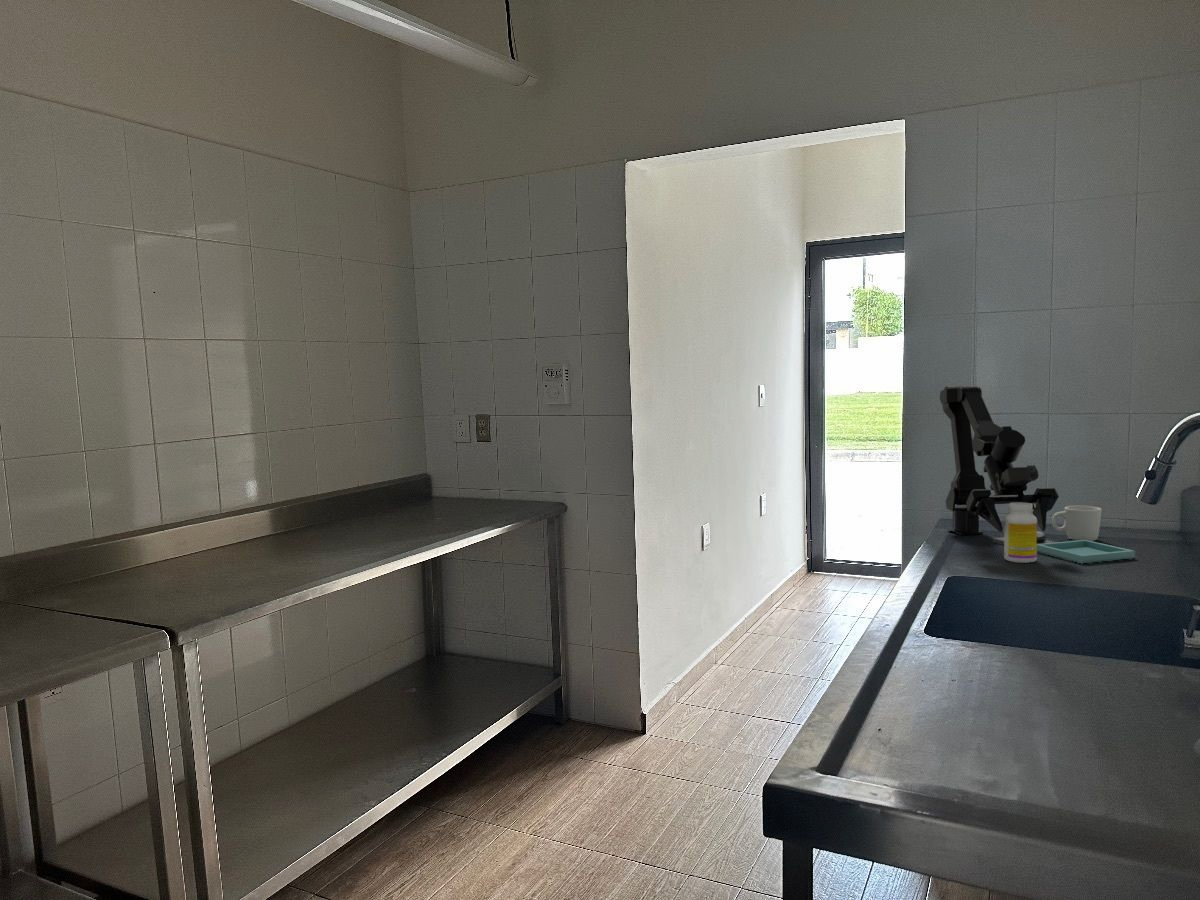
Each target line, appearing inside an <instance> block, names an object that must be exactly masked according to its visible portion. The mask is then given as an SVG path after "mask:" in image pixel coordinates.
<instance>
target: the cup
mask: <svg viewBox="0 0 1200 900" xmlns="http://www.w3.org/2000/svg"><path fill="white" fill-rule="evenodd" d="M1102 511H1103V509H1102V508H1101V507H1097V506H1092V505H1067V506H1065V507H1064V510H1063V511H1058V512H1055V513H1054V514H1053V515H1052V518H1051V524H1052V526H1053V528H1054V529H1055V530H1057V531H1060V532H1066V535H1067V537H1068V539H1070V540H1071V541H1076V540H1088V541H1093V542H1095V541H1096V540H1097V539H1098V537H1099V533H1100V526H1101V517H1102V513H1103V512H1102ZM1059 517H1062V518H1063V519H1064V520H1063V521H1064V524H1063V525H1062V526H1058V524H1057V518H1059Z"/></svg>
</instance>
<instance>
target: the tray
mask: <svg viewBox="0 0 1200 900" xmlns="http://www.w3.org/2000/svg"><path fill="white" fill-rule="evenodd" d="M1054 542H1055V543H1044V544H1037V554H1041V555H1045V556H1048V555H1050V556H1049V557H1052V556H1054V557H1053V558H1056V557H1057V558H1056V559H1060V558H1061V559H1060V560H1064V561H1068V562H1072V561H1073V562H1072V563H1075V562H1077V563H1076V564H1079V563H1081V565H1084V564H1083V563H1089V564H1092V563H1091V562H1099V563H1101V562H1100V561H1109V560H1117V559H1129V560H1132V559H1131V558H1136V550H1132V549H1129V548H1123V547H1120V546H1115V545H1110V544H1106V543H1103V542H1102V543H1100V542H1096V541H1088V540H1066V541H1054ZM1109 562H1110V561H1109Z"/></svg>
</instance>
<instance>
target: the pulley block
mask: <svg viewBox="0 0 1200 900" xmlns="http://www.w3.org/2000/svg"><path fill="white" fill-rule="evenodd" d="M1055 542H1056V541H1053V540H1049V539H1047V537H1046V534H1045V533H1044V532H1043V531H1039V530H1037V544H1044V543H1055ZM992 543H995V544H999V545H1002V546H1004V536H1002V537H994V538H992Z"/></svg>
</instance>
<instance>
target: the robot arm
mask: <svg viewBox="0 0 1200 900" xmlns="http://www.w3.org/2000/svg"><path fill="white" fill-rule="evenodd" d="M982 392H983V391H982V388H981V387H979V386H977V385H974V386H973V385H972V386H971V385H946V386H945V387H944V389H942V390H941V391H940V393H939V401H940V404H941V405H942V410H943V412H944V414H945V415H946V416H947V418H949V420H950V426H951V434H952V435H951V436H952V443H953V444H952V445H953V452H954V453H953V455H954V463H955V474H954V477H953V479H952V480H951V483H950V490H949V491H948V494H947V497H946V499H945V508H946V509H947V510H949V511H951V512H952V529H953V528H954V532H955V533H954V534H958V535H962V536H966V535H967V536H969V535H979V534H984V533H985V532H984V531H983V530H981V529H980V518H982V519H983V520H985V521H986V522H987V523H988V524H990V525H991V526H992V527H993V528H995V529H996V530H997V531H998V532H999V533H1002V532H1003V531H1004V526H1003V524H1002V521H1001V518H1000V516H999V514H998V512H997V509H996V505H1005V506H1006V505H1007V506H1009V503H1012V502H1024V503H1031V504H1032V515H1034V516H1035V517H1036V518H1037V526H1038V528H1039V529H1040V530H1041V532H1045V531H1046V528H1047V527H1046V525H1047V513H1048V512H1049V511H1051V510H1052V509H1054V508H1053V507H1054V506H1055V504H1056V502H1057V500H1058V499H1059V497H1060V496H1059V493H1058V491H1057V490H1056V488H1054V487H1037V488H1036V489H1035V491H1034V493H1033V494H1024V492H1026V491H1028V490H1027V489H1028V486H1027V484H1029V483H1031V482H1032V481H1033V482H1034V481H1036V480H1037V479H1038V478H1039V471H1038V469H1037V467H1036V465H1033V464H1032V465H1026V466H1025V467H1024V466H1022V467H1021V466H1020V467H1019V466H1018V467H1017V466H1016V467H1015V466H1014V465H1013V463H1014V462H1016V461H1017V459H1018V458H1019V455H1020V453H1021V451H1022V450H1023V447H1024V445H1025V442H1026V438H1025V437H1026V436H1025V435H1023V434H1022V433H1021V432H1019V431H1018V430H1015V429H1013V428H1012V426H1011V425H1010V426H1009V425H1008V426H1000V425H998V424H996V423H994V421H993V418H992V416H991V414H990V412H989V409H988V407H987V405H986V403H985V400H984V398H983V397H982V395H983V393H982ZM972 430H973V432H972ZM972 433H974V434H973V435H972ZM974 453H975V454H974ZM975 455H976V456H977V457H986V458H985V459H984V462H983V464H984V467H983V473H986V474H987V475H988V479H989V480H990V481H989V482H990V485H989V489H987V487H986V484H985V476H983V474H979V472H978V471H977V469H976V461H975ZM991 491H993V492H994V494H992V492H991Z"/></svg>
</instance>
